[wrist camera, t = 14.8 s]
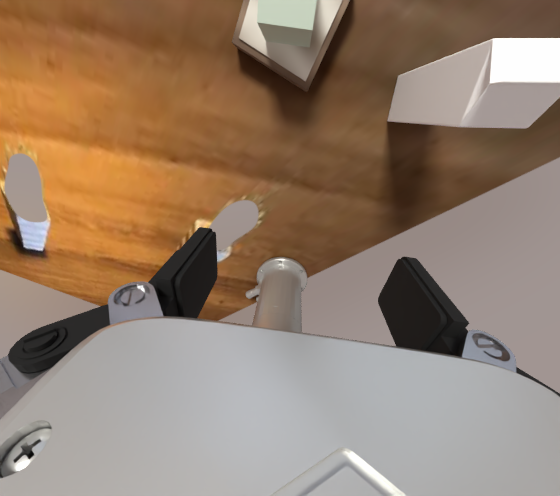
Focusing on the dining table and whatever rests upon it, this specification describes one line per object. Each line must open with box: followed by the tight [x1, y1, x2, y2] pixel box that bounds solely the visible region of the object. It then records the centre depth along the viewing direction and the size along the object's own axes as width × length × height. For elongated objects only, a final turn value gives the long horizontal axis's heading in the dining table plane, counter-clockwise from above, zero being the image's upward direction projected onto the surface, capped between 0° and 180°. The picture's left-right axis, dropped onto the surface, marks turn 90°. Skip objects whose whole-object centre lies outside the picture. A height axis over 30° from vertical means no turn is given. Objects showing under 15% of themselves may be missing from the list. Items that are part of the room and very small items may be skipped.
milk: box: [387, 38, 560, 128], centre depth 24 cm, size 6×6×22 cm
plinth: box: [232, 0, 350, 92], centre depth 29 cm, size 12×12×3 cm
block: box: [257, 0, 317, 47], centre depth 25 cm, size 6×6×7 cm
